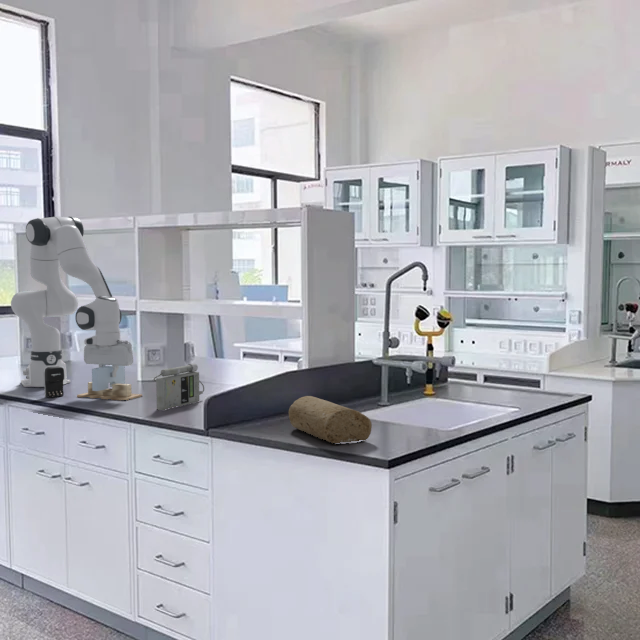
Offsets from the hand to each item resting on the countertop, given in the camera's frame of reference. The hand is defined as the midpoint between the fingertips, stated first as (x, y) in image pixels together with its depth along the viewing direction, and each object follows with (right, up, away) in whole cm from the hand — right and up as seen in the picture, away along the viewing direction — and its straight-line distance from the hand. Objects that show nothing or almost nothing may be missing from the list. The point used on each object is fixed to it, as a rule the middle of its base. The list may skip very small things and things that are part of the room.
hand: (109, 376), depth 278 cm
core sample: (+81, -12, -65) cm, 104 cm away
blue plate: (0, -4, 0) cm, 4 cm away
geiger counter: (+30, -9, -15) cm, 35 cm away
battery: (-21, -8, +1) cm, 22 cm away
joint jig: (0, -8, +1) cm, 8 cm away
